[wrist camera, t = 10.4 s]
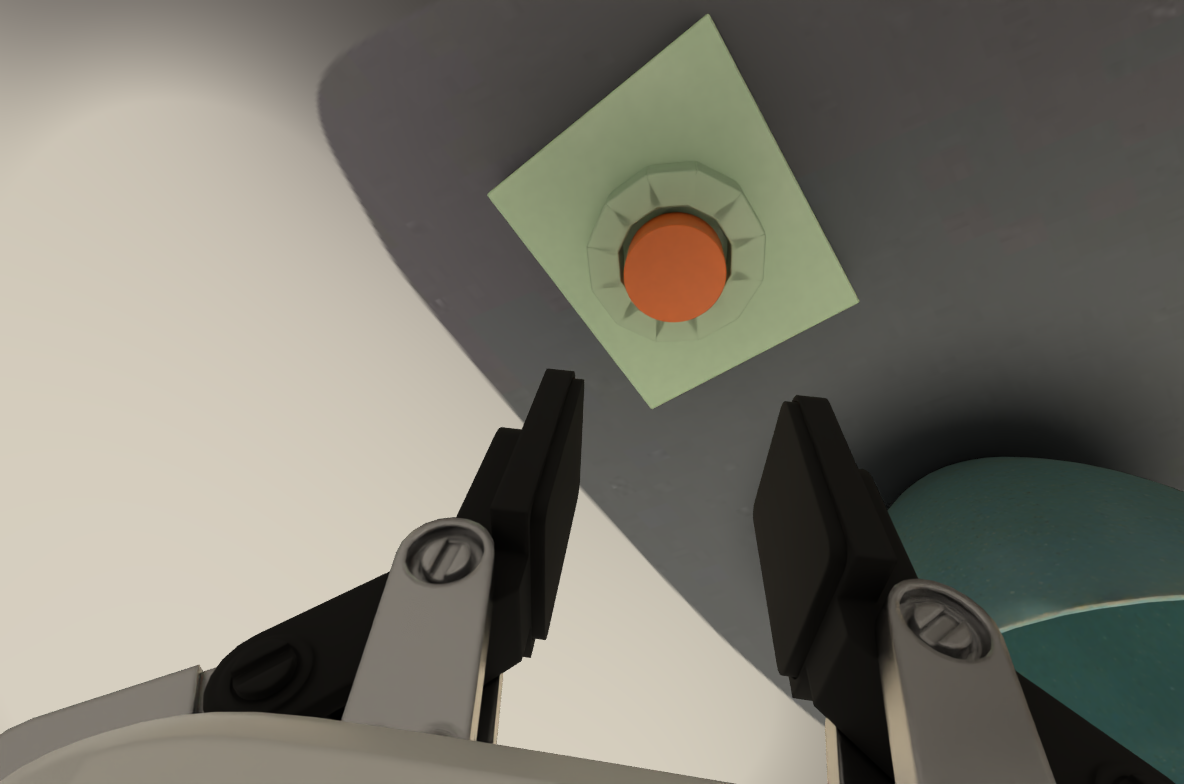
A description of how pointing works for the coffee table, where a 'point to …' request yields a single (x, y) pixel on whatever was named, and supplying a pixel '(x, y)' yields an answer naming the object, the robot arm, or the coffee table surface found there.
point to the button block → (677, 184)
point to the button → (675, 267)
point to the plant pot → (1068, 584)
